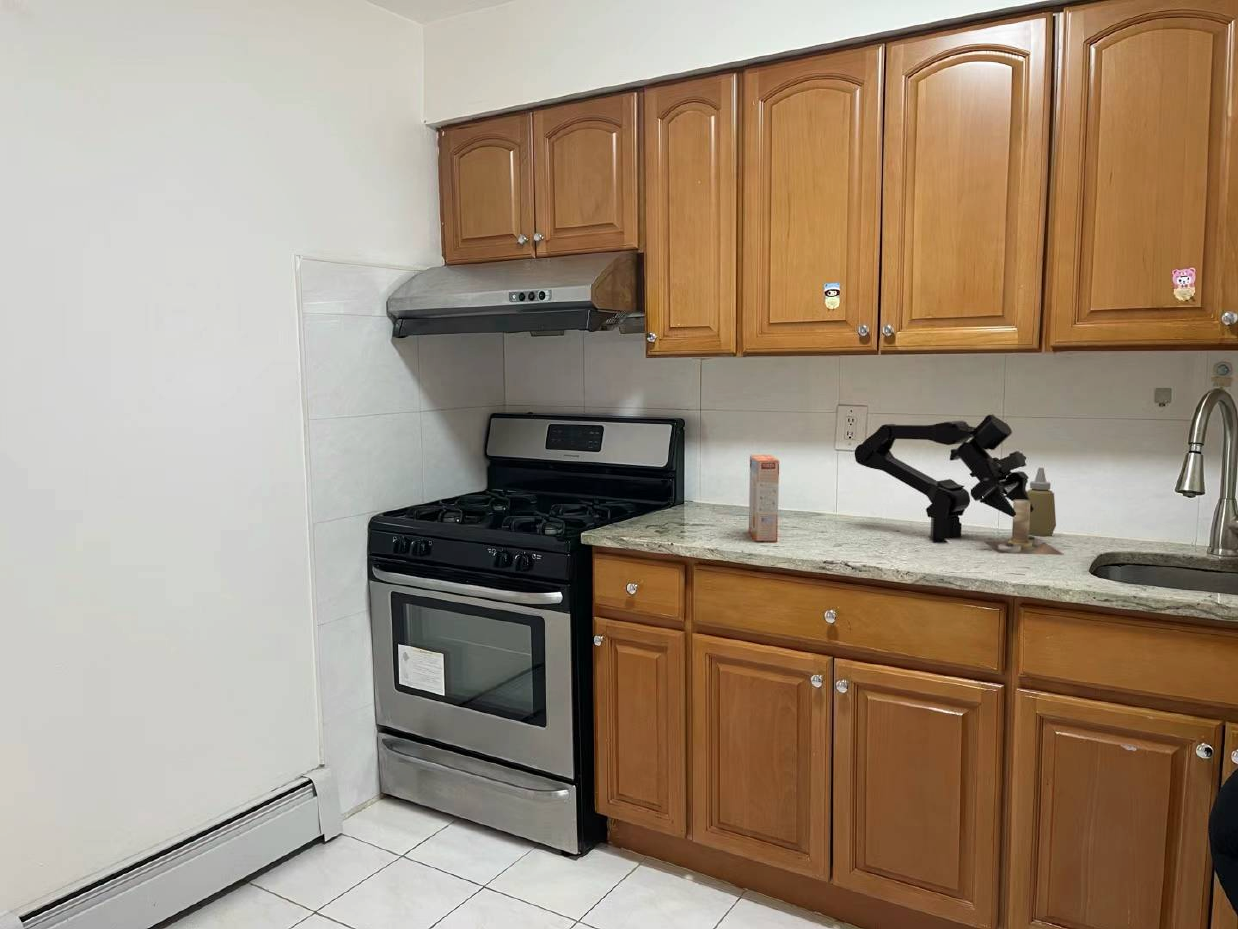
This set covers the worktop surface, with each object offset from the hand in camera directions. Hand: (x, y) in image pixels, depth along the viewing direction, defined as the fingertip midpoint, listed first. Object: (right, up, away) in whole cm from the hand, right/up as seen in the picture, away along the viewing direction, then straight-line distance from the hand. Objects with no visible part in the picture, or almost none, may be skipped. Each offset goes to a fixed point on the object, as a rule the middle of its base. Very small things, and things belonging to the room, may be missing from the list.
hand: (1023, 513), depth 208 cm
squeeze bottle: (+12, -8, +18) cm, 23 cm away
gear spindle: (0, -8, +1) cm, 8 cm away
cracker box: (-57, -8, +22) cm, 62 cm away
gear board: (0, -9, +1) cm, 9 cm away
